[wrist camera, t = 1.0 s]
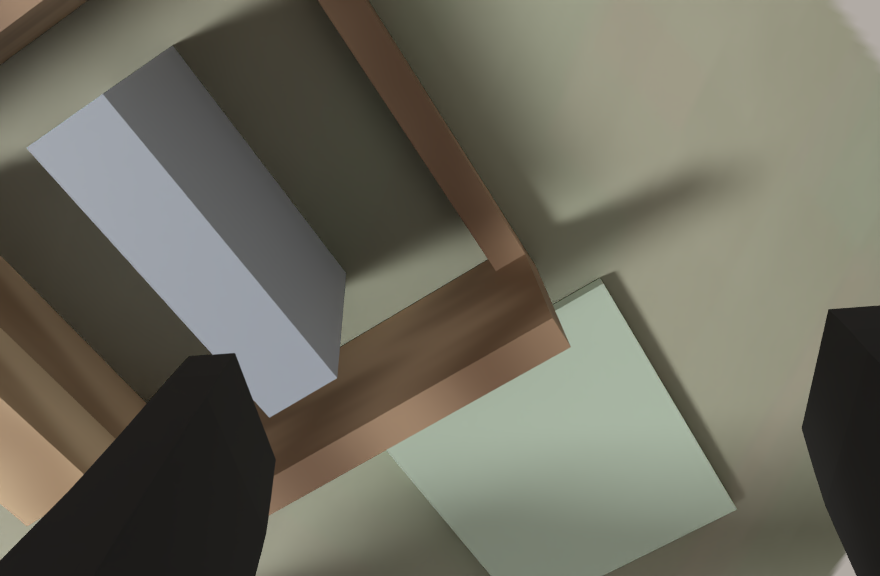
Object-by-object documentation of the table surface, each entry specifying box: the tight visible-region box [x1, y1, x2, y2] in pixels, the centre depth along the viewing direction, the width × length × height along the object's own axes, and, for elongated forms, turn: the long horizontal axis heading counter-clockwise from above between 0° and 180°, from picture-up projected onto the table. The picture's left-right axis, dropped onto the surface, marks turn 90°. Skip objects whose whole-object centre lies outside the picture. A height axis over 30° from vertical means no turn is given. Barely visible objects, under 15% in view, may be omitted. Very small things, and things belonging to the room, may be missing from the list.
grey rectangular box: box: [27, 45, 346, 418], centre depth 20 cm, size 2×8×6 cm, turn 32°
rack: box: [0, 0, 571, 515], centre depth 21 cm, size 16×14×5 cm
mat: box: [386, 278, 737, 576], centre depth 28 cm, size 9×11×1 cm
